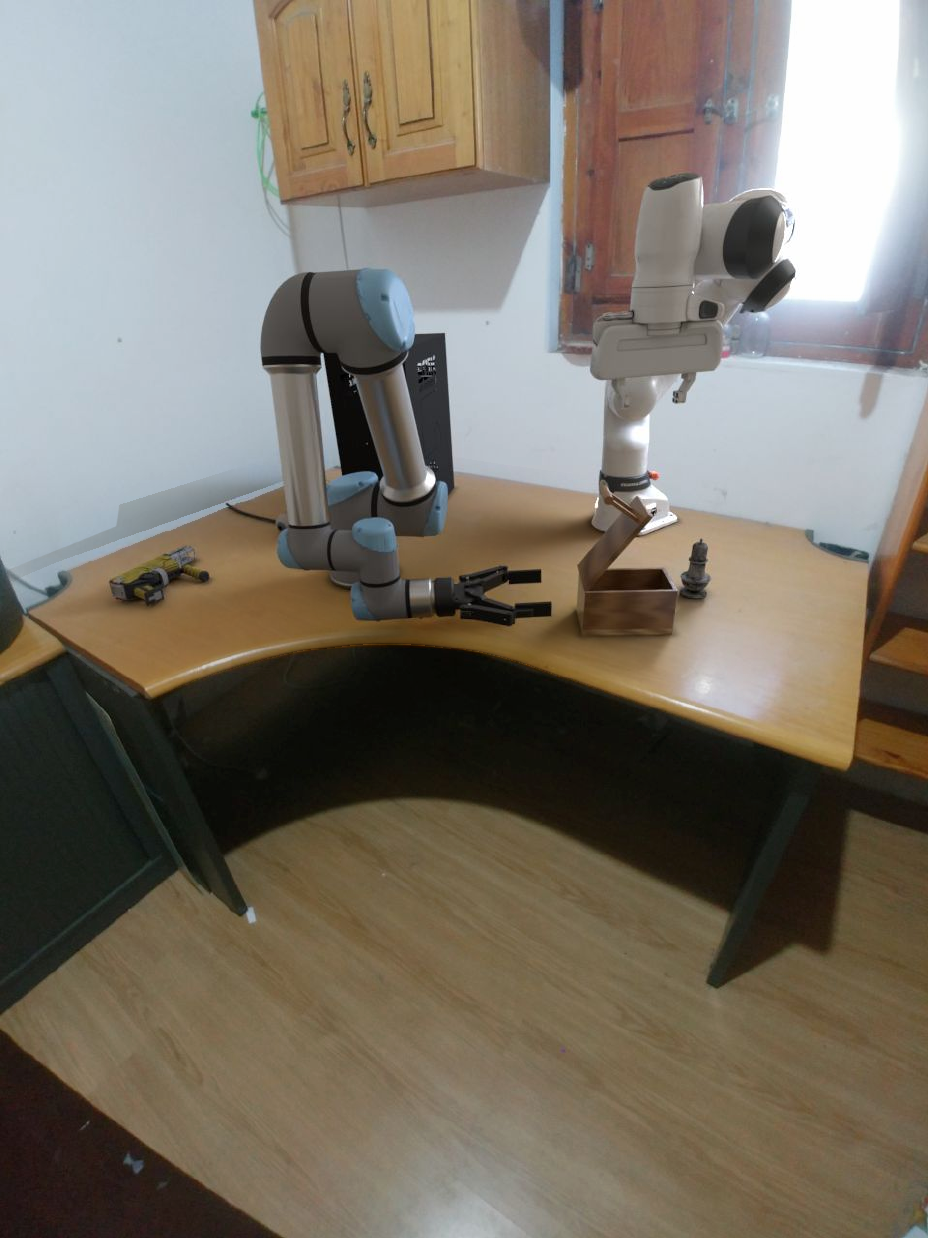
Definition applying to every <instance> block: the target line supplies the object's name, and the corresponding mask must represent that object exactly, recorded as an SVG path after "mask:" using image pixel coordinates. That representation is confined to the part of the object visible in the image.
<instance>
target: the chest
mask: <svg viewBox="0 0 928 1238" xmlns="http://www.w3.org/2000/svg"><path fill="white" fill-rule="evenodd" d="M678 594H679V591H678V589H677V587H676V585H675V583H674V581H673V580H672V578H671V575H670V574H669V572H668V570H667V568H666V567H664V566H663V567H661V566H659V567H615V568H612V567H611V568H610V567H609V568H608V569H607V570H606V571H605V572H604V573H603V574H602V575H601V577H600V578H599V579H598V580H597V581H596V582H595V583H594V584H593V586H592V587H591V588H590V589H589V590H588V591H586V590H584V589H583V586H582V582H581V578H580V574H579V573H578V580H577V597H576V598H577V599H576V613H577V616H578V622H579V626H580V630H581V635H582V636H583V637H585V636H586V637H588V636H589V637H591V636H645V635H646V636H650V635H651V636H652V635H653V636H654V635H655V636H656V635H657V636H658V635H659V636H660V635H672V634H673V627H674V620H675V615H676V608H677V599H678Z"/></svg>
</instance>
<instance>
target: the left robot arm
mask: <svg viewBox="0 0 928 1238" xmlns="http://www.w3.org/2000/svg"><path fill="white" fill-rule="evenodd" d="M414 318H415V315H414V309H413V305H412V301H411V298H410V295H409V292H408V289H407V287H406V285H405V284H404V282H403V280H402V279H401V277H400V276H399V275H397V274H396V273H395V272H394V271H393V270H391V269H387V268H371V267H362V268H360V269H359V268H358V269H347V270H334V271H333V270H331V271H318V272H313V271H305V272H299V273H297V274H294V275H292V276H290V277H289V278H287V279H286V280H285V281H283V282H282V283H281V285H279V287H277V289H276V291H275V292H274V294H273V295H272V297H271V299H270V300H269V303H268V305H267V308H266V310H265V314H264V317H263V321H262V325H261V332H260V344H259V345H260V346H259V347H260V348H259V349H260V359H261V367H262V369H263V370H264V372H266V373H267V374H268V376H269V379H270V387H271V395H272V404H273V410H274V419H275V426H276V435H277V443H278V444H277V445H278V452H279V459H280V465H281V475H282V482H283V490H284V499H285V507H286V512H287V515H288V525H289V529H285V530H283V531H282V532H280V533H279V535H278V537H277V546H276V555H277V558H278V560H279V562H280V563H281V564H282V566H284V567H285V568H287V569H292V570H293V569H295V570H303V571H308V572H309V571H328V572H329V576H330V581H331V583H332V584H334V585H335V586H336V587H339V588H343V589H345V590H346V589H348V590H350V607H351V611H352V616H353V617H354V618H355V619H356V620H358V621H360V622H382V621H392V620H405V619H420V620H422V619H425V618H433V617H434V615H436V617H437V618H449V617H450V618H453V617H455V616H456V614H457V611H459V616H460V617H459V618H460V619H461V620H473V621H479V622H483V623H489V624H495V625H499V626H505V627H512V626H513V625H515V624H516V619H529V618H530V619H531V618H548V617H549V618H550V617H552V612H553V611H552V609H553V608H552V606H553V603H552V600H551V601H550V600H549V601H533V602H515V603H514V606H513V605H511V604H509V603H504V602H501V601H498V600H496V599H492V598H490V597H487V596H486V593H487V592H489V591H491V590H493V589H496V588H498V587H500V586H502V585H503V584H506V583H508V585H524V584H526V585H527V584H541V583H542V573H543V572H542V568H534V569H533V568H531V569H516V570H515V569H514V570H513V569H512V570H509V567H508V566H507V565H498V566H494V567H490V568H487V569H483V570H479V571H476V572H472V573H468V574H466V573H465V574H460V575H458V583H456V582H455V578H453V577H452V576H446V577H445V576H443V577H436V578H434V580H432V578H431V577H423V578H410V579H402V578H401V571H400V570H401V569H400V559H399V551H398V547H399V545H398V541H397V537H410V538H411V537H412V538H413V537H415V538H425V537H426V538H427V537H428V538H429V537H437V536H439V535H441V533H442V532H443V529H444V527H445V523H446V518H447V510H448V501H449V500H448V499H449V498H448V497H449V495H448V489H447V485H446V483H445V482H441V481H438V482H436V479H435V475H434V472H433V471H432V470H431V469H430V468H429V467H430V466H429V467H428V466H426V465H425V463H424V459H423V454H422V450H421V445H420V441H419V436H418V432H417V428H416V423H415V419H414V414H413V410H412V405H411V401H410V396H409V392H408V388H407V383H406V379H405V374H404V370H403V365H402V364H403V362H404V361H405V360H406V358H407V356H408V349H409V348H410V347H411V346H412V344H413V342H414V336H415V334H416V325H415V322H414ZM323 353H337V354H338V356H339V359H340V362H341V366H342V368H343V370H344V371H346V372H347V373H349V375H350V374H351V375H353V376H354V378H355V380H354V382H355V384H356V385H357V388H358V391H359V395H360V398H361V401H362V405H363V408H364V411H365V415H366V418H367V421H368V425H369V428H370V431H371V435H372V438H373V441H374V445H375V448H376V451H377V455H378V458H379V461H380V465H381V468H382V471H383V475H384V476H383V477H382V479H381V481H378V477H377V475H376V474H375V473H374V472H369V471H365V472H357V473H351V474H347V475H344V476H342V475H341V476H338V477H336V478H334V479H332V480H331V481H329V482H328V483H327V477H326V468H325V467H326V466H325V454H324V444H323V435H322V434H323V433H322V423H321V422H322V421H321V412H320V411H321V410H320V402H319V390H318V380H317V374H318V373H319V372H320V371H321V369H322V357H321V355H322V354H323ZM354 378H353V379H354ZM225 505H226V506H227V507H228V508H229V509H231V510H232V511H235V512H236V513H239V514H241V515H244V516H247V517H250V518H254V519H258V520H262V521H267V522H269V523H270V522H271V523H274V524H276V519H273V518H268V517H265V516H260V515H257V514H252V513H249V512H246V511H244V510H240V509H238V508H236V507H234V506H233V505H231V504H230V503H229V502H225Z"/></svg>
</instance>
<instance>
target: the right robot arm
mask: <svg viewBox="0 0 928 1238" xmlns="http://www.w3.org/2000/svg"><path fill="white" fill-rule="evenodd" d="M703 183H704V182H703V176H702V175H700V174H697V173H693V172H691V173H690V172H688V173H687V172H685V173H679V174H673V175H669V176H663V177H659V178H656V179H654V180H652V181H651V182H650V183H648V184H647V185H646V186H645V188H644V191H643V194H642V197H641V202H640V207H639V212H638V217H637V224H636V232H635V241H634V259H635V273H634V277H633V280H632V283H631V293H630V305H629V306H630V307H629V310H622V311H616V312H613V311H606V312H603V314H602V315H601V316H599V317H598V318H597V319H596V320H595V321H594V322H593V325H592V336H591V337H592V342H593V344H592V349H591V355H590V366H589V372H590V374H591V376H592V377H593V378H594V379H596V380H597V381H598V380H599V381H605V384H604V397H603V398H604V400H603V431H602V432H603V435H602V436H603V437H602V453H601V468H600V470H599V474H598V492H599V493H598V496H597V500H596V503H595V505H594V507H595V511H594V514H593V517H592V520H591V525H592V526H593V527H594V528H595V529H597V530H599V531H601V532H604V533H605V532H606V531H607V530H608V529H609V527H610V526H611V525H612V524H613V523H614V522H615V520H616V519H617V518H618V517H619V516H620V515H621V513H622V512H621V511H620V510H618V509H617V508H615V507H614V506H613V505H606V504H605V503H604V500H603V498H602V496H601V494H600V491H599V489H600V487H601V486H603V485H606V486H607V487H608V489H609V491H610V492H611V493H612V494H614V495H615V496H617V497H618V498H620V499H621V500H622V501H624V502H625V503H627V504H628V505H629V504H630V503H631V502H632V501H633V499H634V498H635V497H636V496H637V495H638V496H639V497H640V498H641V499H642V500H643V502H644V504H645V505H646V507H647V509H648V510H649V512H650V514H651V515H652V517H653V518H652V519H651V520H650V521H649V523H648V524H647V525H646V526H645V527H644V528H643V529H642V530H641V532H640V533H639V534H638V535H637V536H645V535H646V534H650V533H652V532H654V531H657V530H660V529H662V528H665V527H668V526H670V525H672V524H675V523H677V522H678V516H677V515H676V514H675V513H674V512H672V511H670V503H669V502H670V501H669V498H668V497H667V496H666V495H665V494H664V493H663V492H661V491H660V490H659V489H658V488H656V487H655V486H654V485H652V483H651V480H653V481H658V479H659V478H660V473H659V472H657V471H654V470H651V471H649V470H648V469H647V466H648V458H649V457H648V455H649V446H650V414H651V413H652V411H653V410H654V409H655V407H656V406H657V404H658V403H659V402H660V401H661V399H662V398H663V397H664V396H665V395H666V393H667V392H668V391H669V390H670V389H671V387H672V385H674V383H675V382H676V380H677V379H678V378H679V377H680V379H682V382H681V384H680V385H679V387H678V389H677V390H672V396H673V397H672V398H671V401H672V403H673V404H677V405H678V404H679V405H680V404H685V403H686V402H687V394H688V392H689V391H690V389H691V387H692V386H693V384H694V383H695V382H696V379H697V373H704V372H705V373H706V372H714V371H716V369H717V368H718V367H719V365H721V362H722V357H723V347H724V328H725V326H726V325H728V323H729V322H730V321H731V319H732V318H733V317H734V315H735V314H736V313H737V311H738V310H739V309H740V307H741V309H740V310H739V312H738V313H739V314H741V315H744V314H745V313H747V312H748V313H752V314H757V313H762V312H766V311H767V310H768V309H771V308H772V307H774V306H775V305H777V304H778V303H780V302H781V301H782V300H783V299H784V298H785V297H786V295H787V294H788V293H789V291H790V290H791V287H792V286H793V283H794V282H795V281H796V280H797V279H796V278H797V273H798V269H797V267H796V265H795V263H794V262H793V260H792V259H791V257H790V256H786V254H785V253H784V252H785V250H787V249H788V247H789V245H790V244H791V241H792V239H793V236H794V231H795V228H796V227H795V226H796V219H797V213H796V209H795V205H794V203H793V202H792V200H791V198H790V197H789V196H787V194H785V193H784V192H782V191H780V190H778V189H774V188H765V187H762V188H755V189H750V190H746V191H743V192H740V193H739V194H737V195H735V196H734V197H732V198H731V199H730V200H728V201H726V202H716V203H707V204H704V186H703V185H704V184H703ZM696 281H700V282H699V283H697V284H696ZM695 284H696V285H695ZM615 502H616V501H615ZM618 504H619V503H618ZM619 505H620V504H619ZM622 507H623V506H622ZM625 509H626V508H625Z"/></svg>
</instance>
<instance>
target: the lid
mask: <svg viewBox="0 0 928 1238" xmlns="http://www.w3.org/2000/svg"><path fill="white" fill-rule="evenodd" d="M599 491H600V494H601V496H602V498H603V500H604V503H605V504H606V505H613V506H614V507H615V508H617V509H618V510H620V511H621V512H622V513H621V515H620V516H619V517H618V518H617V519H616V520H615V522H614V523H613V524H612V525H611V526H610V527H609V529H608V530H607V531H606V532H605V531H604V533H603V535H601V536H600V538H598V540H597V541H596V542H595V543H594V545H593V546H592V547H591V548H590V549H589V551H588V552H587V553H586V554H585V555H584V557H583V558H582V559H581V560H580V561H579V562H578V564H576V566H577V570H578V575H579V574H580V578H581V582H582V586H583V589H584V590H586V591H588V590H589V589H590V588H591V587H592V586H593V584H594V583H595V582H596V581H597V580H598V579H599V578H600V577H601V575H602V574H603V573H604V572H605V571H606V570H607V569H610V567H611V565H612V564H613V563H614V562H615V561H616V560H617V559H618V558H619V556H621V554H622V553H623V552H624V551H625V550H626V549H627V548H628V546H629V545H630V544H632V542H633V541H634V539H636V537H637V536H639V535H638V534H639V533H640V532H641V530H642V529H643V528H644V527H645V526H646V525H647V524H648V523H649V521H650V520H651V519H652V518H653V517H652V515H651V514H650V512H649V510H648V509H647V507H646V505H645V504H644V502H643V500H642V499H641V498H640V497H639V496H638V495H637V496H636V497H635V498H634V499H633V501H632V502H631V503H630V504H629V505H628V504H627V503H625V502H624V501H622V500H621V499H620V498H618V497H617V496H615V495H614V494H612V493H611V492H610V491H609V489H608V487H607V486H606V485H603V486H601V487H600V489H599V488H598V492H599ZM615 501H616V502H615ZM618 503H619V504H620V505H619V504H618ZM622 506H623V507H622ZM625 508H626V509H625Z"/></svg>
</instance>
